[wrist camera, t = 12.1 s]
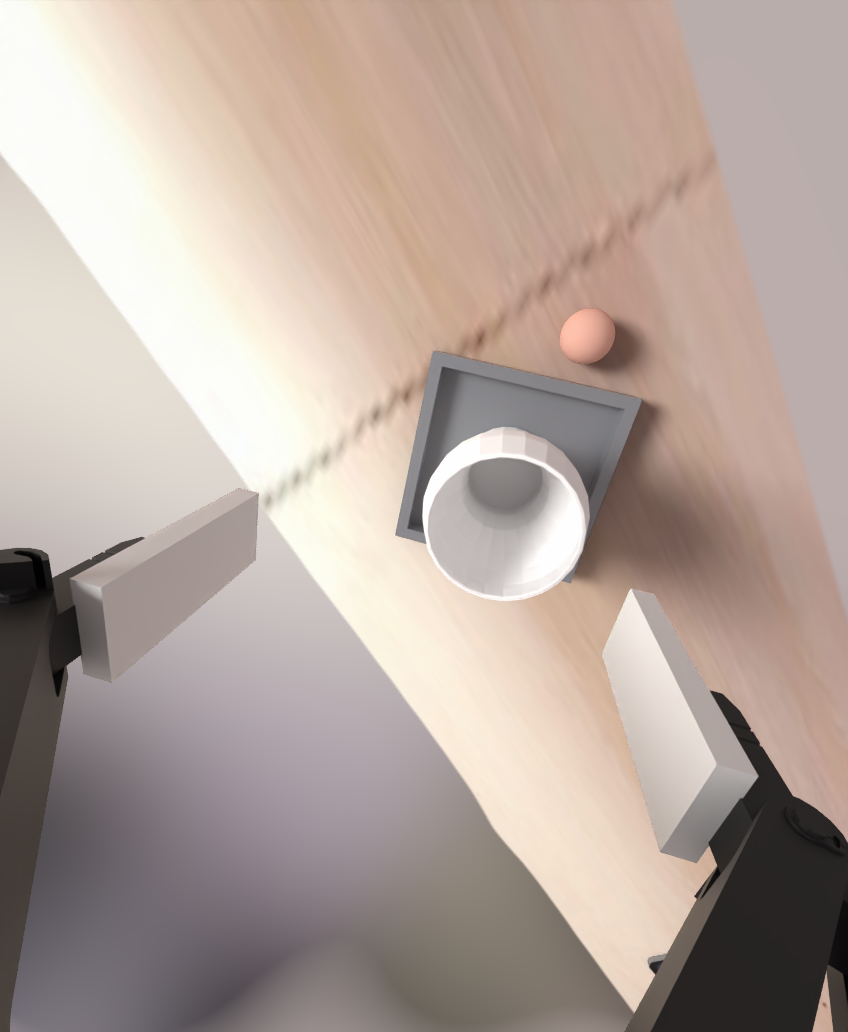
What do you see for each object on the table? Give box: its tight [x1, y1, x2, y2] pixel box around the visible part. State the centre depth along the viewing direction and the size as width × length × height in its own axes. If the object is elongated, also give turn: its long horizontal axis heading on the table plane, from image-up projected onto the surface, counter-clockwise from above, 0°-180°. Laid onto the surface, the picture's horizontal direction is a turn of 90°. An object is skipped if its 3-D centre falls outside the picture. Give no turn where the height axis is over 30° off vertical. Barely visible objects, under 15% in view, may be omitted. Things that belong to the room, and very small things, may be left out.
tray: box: [395, 351, 642, 583], centre depth 40 cm, size 17×17×2 cm
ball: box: [560, 308, 615, 364], centre depth 34 cm, size 4×4×4 cm
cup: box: [422, 427, 590, 601], centre depth 33 cm, size 11×11×15 cm
